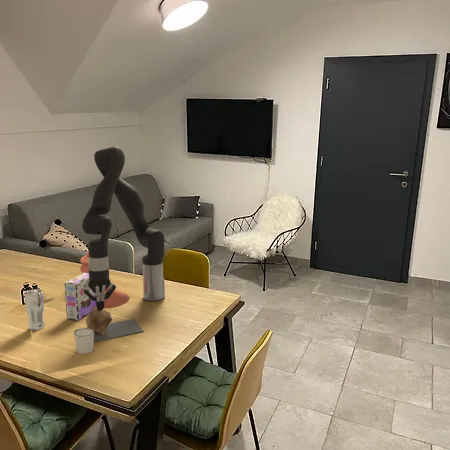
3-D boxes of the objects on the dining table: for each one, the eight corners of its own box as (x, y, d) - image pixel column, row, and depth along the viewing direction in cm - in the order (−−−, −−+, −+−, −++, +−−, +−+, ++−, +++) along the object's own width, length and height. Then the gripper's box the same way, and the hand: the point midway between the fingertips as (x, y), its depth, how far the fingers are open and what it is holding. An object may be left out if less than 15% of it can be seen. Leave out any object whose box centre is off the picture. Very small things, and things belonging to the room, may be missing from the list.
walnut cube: (110, 312, 180) (95, 305, 177) (113, 319, 174) (97, 312, 171) (100, 327, 180) (85, 320, 177) (103, 334, 173) (87, 327, 170)
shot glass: (77, 345, 166) (76, 328, 164) (96, 345, 166) (95, 327, 165) (73, 354, 159) (71, 336, 157) (92, 354, 159) (91, 336, 158)
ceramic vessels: (139, 301, 208) (138, 262, 203) (96, 313, 195) (93, 271, 191) (107, 281, 234) (105, 246, 230) (67, 290, 221) (64, 253, 217)
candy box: (78, 321, 186) (75, 283, 183) (66, 319, 188) (63, 282, 184) (97, 308, 199) (95, 273, 196) (85, 306, 201) (83, 271, 197)
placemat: (133, 319, 188) (133, 318, 188) (143, 331, 177) (143, 330, 177) (74, 330, 177) (74, 329, 177) (81, 344, 166) (81, 343, 166)
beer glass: (49, 324, 182) (47, 290, 179) (37, 332, 176) (34, 296, 173) (36, 322, 185) (33, 288, 181) (23, 329, 178) (20, 293, 175)
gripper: (113, 262, 177) (114, 303, 180) (79, 266, 171) (81, 308, 174) (118, 267, 170) (119, 310, 174) (82, 272, 164) (84, 316, 168)
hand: (100, 309), depth 174 cm, fingers closed
